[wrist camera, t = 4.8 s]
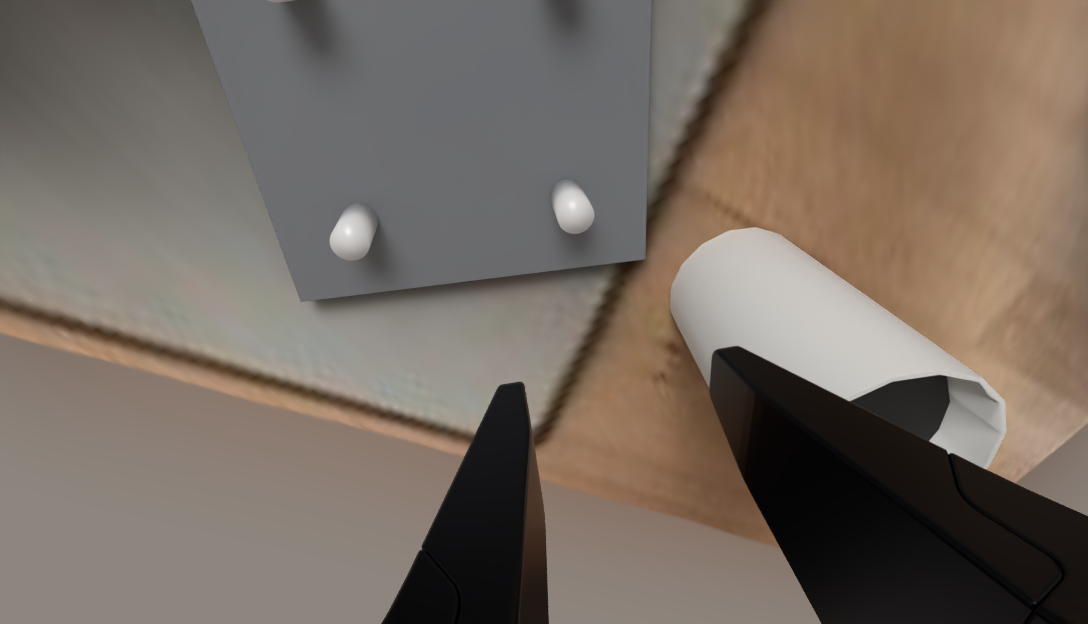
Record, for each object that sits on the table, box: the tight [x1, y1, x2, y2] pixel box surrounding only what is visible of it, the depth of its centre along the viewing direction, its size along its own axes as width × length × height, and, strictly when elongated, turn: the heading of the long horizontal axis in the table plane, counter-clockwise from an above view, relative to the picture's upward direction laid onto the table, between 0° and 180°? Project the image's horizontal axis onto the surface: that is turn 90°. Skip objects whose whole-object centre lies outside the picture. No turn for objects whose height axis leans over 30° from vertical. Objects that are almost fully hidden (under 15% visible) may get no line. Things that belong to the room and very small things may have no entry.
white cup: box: [670, 227, 1006, 469], centre depth 19 cm, size 7×7×10 cm
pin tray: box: [191, 0, 652, 302], centre depth 17 cm, size 13×13×3 cm
